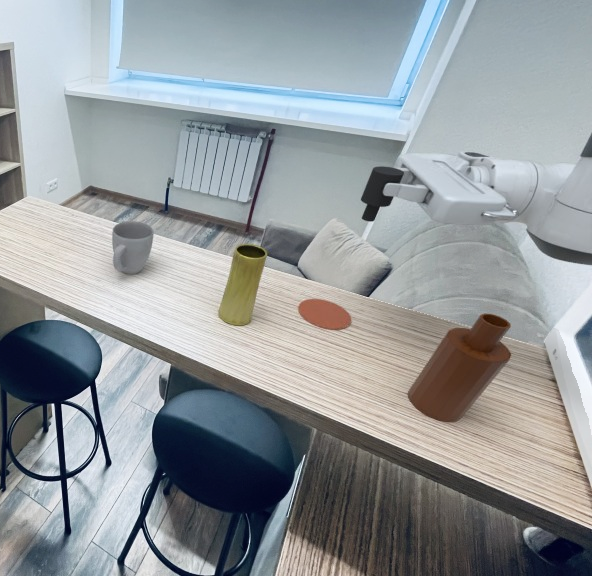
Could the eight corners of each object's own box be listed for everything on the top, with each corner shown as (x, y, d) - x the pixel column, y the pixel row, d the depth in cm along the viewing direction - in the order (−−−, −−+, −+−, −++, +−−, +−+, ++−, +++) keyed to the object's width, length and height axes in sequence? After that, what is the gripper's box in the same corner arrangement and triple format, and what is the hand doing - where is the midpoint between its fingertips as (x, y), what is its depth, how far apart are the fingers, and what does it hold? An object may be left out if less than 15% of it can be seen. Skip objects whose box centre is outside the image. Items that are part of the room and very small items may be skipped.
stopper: (388, 222, 65) (410, 173, 60) (369, 226, 64) (391, 176, 59) (366, 212, 68) (385, 164, 63) (348, 216, 67) (366, 168, 62)
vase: (212, 308, 80) (225, 244, 72) (240, 303, 81) (256, 240, 73) (228, 328, 75) (245, 262, 67) (257, 322, 76) (278, 257, 68)
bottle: (472, 414, 59) (543, 330, 50) (441, 427, 57) (508, 343, 48) (427, 382, 64) (483, 300, 55) (397, 394, 62) (450, 311, 53)
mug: (122, 254, 98) (124, 217, 92) (156, 264, 94) (160, 226, 88) (96, 278, 90) (97, 239, 84) (132, 290, 86) (135, 250, 80)
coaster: (362, 322, 76) (362, 321, 75) (325, 334, 73) (325, 333, 73) (322, 296, 83) (323, 294, 82) (287, 306, 80) (288, 304, 80)
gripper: (512, 242, 53) (390, 230, 56) (447, 186, 69) (355, 179, 72) (543, 196, 49) (410, 186, 53) (467, 148, 65) (369, 142, 69)
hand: (378, 181), depth 62 cm, fingers closed on stopper, 4 cm apart
